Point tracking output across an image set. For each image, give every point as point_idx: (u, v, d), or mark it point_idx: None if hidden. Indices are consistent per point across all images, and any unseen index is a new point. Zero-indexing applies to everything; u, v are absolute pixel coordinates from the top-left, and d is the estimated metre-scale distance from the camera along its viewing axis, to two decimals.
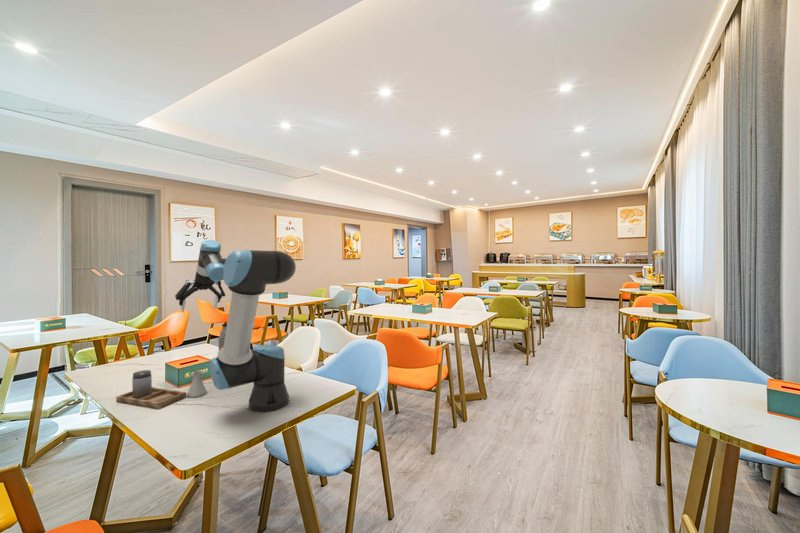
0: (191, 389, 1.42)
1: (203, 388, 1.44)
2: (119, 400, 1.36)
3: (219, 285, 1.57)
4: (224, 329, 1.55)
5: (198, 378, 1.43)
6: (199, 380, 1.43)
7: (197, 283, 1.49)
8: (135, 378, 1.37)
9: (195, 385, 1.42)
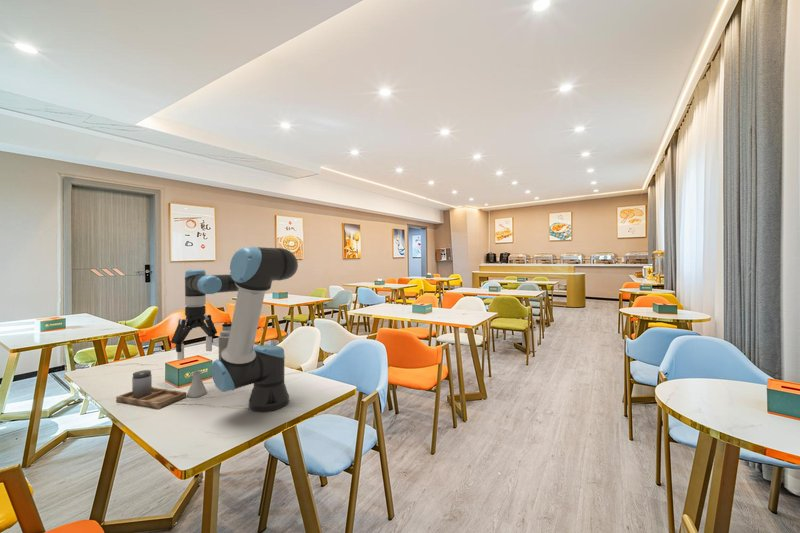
0: (191, 389, 1.42)
1: (203, 388, 1.44)
2: (119, 400, 1.36)
3: (210, 319, 1.49)
4: (224, 329, 1.55)
5: (198, 378, 1.43)
6: (199, 380, 1.43)
7: (191, 319, 1.40)
8: (135, 378, 1.37)
9: (195, 385, 1.42)
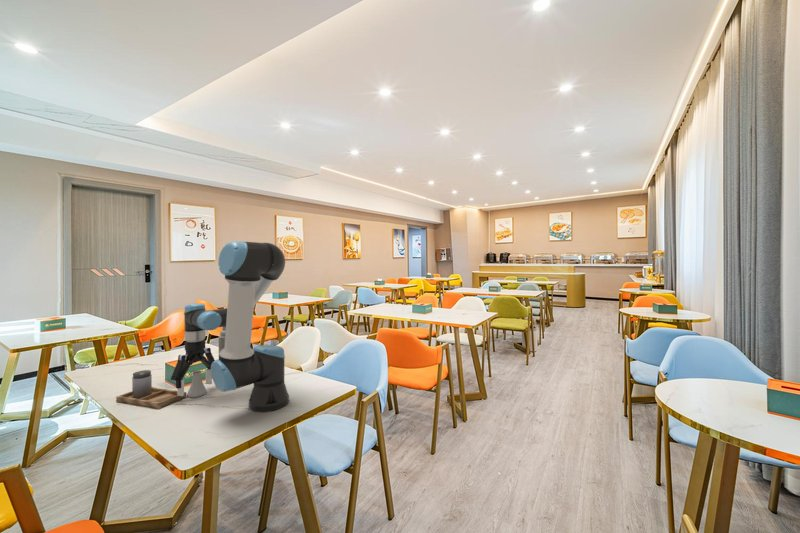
0: (191, 389, 1.42)
1: (203, 388, 1.44)
2: (119, 400, 1.36)
3: (209, 352, 1.49)
4: (224, 329, 1.55)
5: (198, 378, 1.43)
6: (199, 380, 1.43)
7: (191, 354, 1.40)
8: (135, 378, 1.37)
9: (195, 385, 1.42)
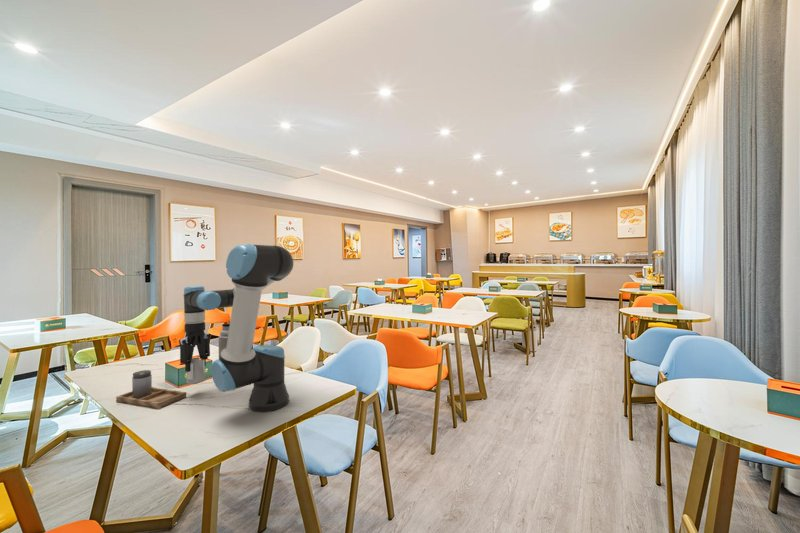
0: None
1: (201, 375, 1.43)
2: (119, 400, 1.36)
3: (208, 339, 1.48)
4: (224, 329, 1.55)
5: (196, 365, 1.42)
6: (197, 367, 1.42)
7: (190, 336, 1.40)
8: (135, 378, 1.37)
9: (193, 372, 1.41)
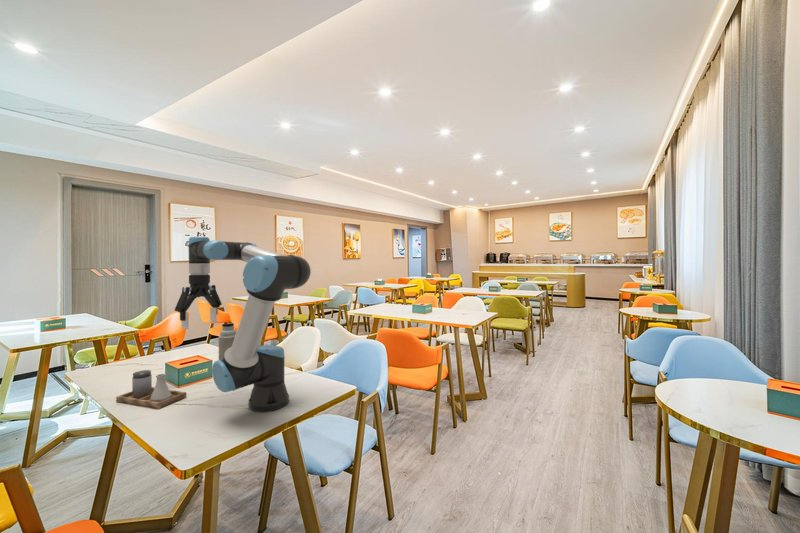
0: (154, 393, 1.35)
1: (167, 392, 1.37)
2: (119, 400, 1.36)
3: (214, 290, 1.44)
4: (224, 329, 1.55)
5: (162, 382, 1.36)
6: (163, 384, 1.37)
7: (195, 287, 1.35)
8: (135, 378, 1.37)
9: (158, 389, 1.35)
